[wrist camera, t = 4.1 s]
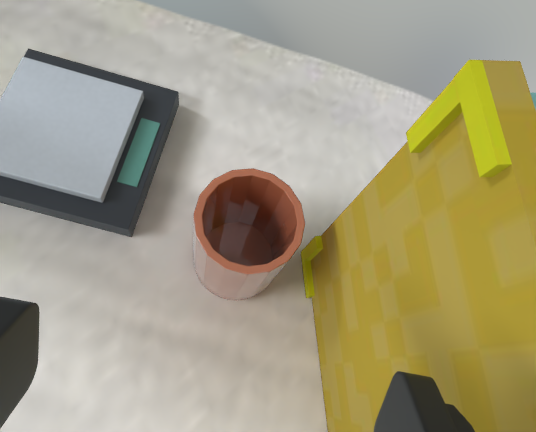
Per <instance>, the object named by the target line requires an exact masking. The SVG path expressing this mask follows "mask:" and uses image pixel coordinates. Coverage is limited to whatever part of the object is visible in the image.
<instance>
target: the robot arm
mask: <svg viewBox="0 0 536 432" xmlns="http://www.w3.org/2000/svg"><path fill="white" fill-rule="evenodd" d="M38 344H39V307H38V305H37V304H36V303H32V302H27V301H21V300H16V299H10V298H5V297H0V428H1V427H2V425H3V424H4V423H5V421H6V420H7V418H8V417H9V415H10V414H11V413H12V411H13V410H14V408H15V407H16V406H17V404H18V403H19V401H20V400H21V398H22V397H23V396H24V394H25V393H26V391H27V390H28V388H29V386H30V385H31V383H32V380H33V378H34V375H35V372H36V369H37V364H38ZM374 432H475V431H474V429H473V427H472V425H471V424H470V423H469V422H468V421H467V420H466V418H465V417H464V416H463V415H462V414H461V413H460V412H459V411H458V410H457V408H456V407H455V406H454V405H451V404H445V402H444V400H443V398H442V396H441V394H440V391H439V389H438V387H437V385H436V383H435V381H434V379H433V378H431V377H428V376H423V375H417V374H412V373H406V372H401V371H397V372H396V373H395V374H394V376H393V378H392V380H391V383H390V385H389V388H388V390H387V393H386V396H385V398H384V401H383V403H382V406H381V409H380V411H379V414H378V416H377V419H376V422H375V426H374Z"/></svg>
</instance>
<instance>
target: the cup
mask: <svg viewBox="0 0 536 432" xmlns="http://www.w3.org/2000/svg"><path fill="white" fill-rule="evenodd" d="M304 227H305V221H304V216H303V211H302V205H301V203H300V201H299V200H298V198H297V197H296V195H295V194H294V192H293V191H292V189H291V188H290V187H289V185H287V184H286V183H284V182H283V181H282V180H280V179H279V178H278V177H276V176H275V175H273V174H271V173H267V172H264V171H260V170H256V169H241V170H232V171H229V172H227V173H225V174H223V175H221V176H219V177H217V178H215V179H214V180H212V181H211V183H210V184H209V185H208V186H207V187H206V188H205V189H204V191H203V192H202V193H201V194H200V196H199V199H198V202H197V205H196V208H195V212H194V226H193V258H194V267H195V271H196V274H197V276H198V278H199V280H200V281H201V283H202V284H203V285H204V286H205V287H206V288H207V289H208V290H209V291H210V292H212V293H213V294H215V295H217V296H219V297H221V298H224V299H229V300H243V299H248V298H250V297H253V296H255V295H257V294H258V293H260V292H261V291H263V290H264V289H265V288H266V287H267V286H268V285H269V284H270V283H271V281H272V280H273V279H274V278H275V277H276V275H277V274H278V273H279V272H280V271H281V269H282V268H283V267H284V266H285V265H286V263H287V262H288V261H289V260H290V258H291V257H292V255H293V254H294V253H295V251H296V250H297V249H298V247H299V246H300V244H301V241H302V236H303V232H304Z"/></svg>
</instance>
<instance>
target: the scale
mask: <svg viewBox="0 0 536 432" xmlns="http://www.w3.org/2000/svg"><path fill="white" fill-rule="evenodd" d="M178 106H179V98H178V92H177V91H174V90H170V89H167V88H163V87H160V86H156V85H153V84H149V83H146V82H142V81H139V80H135V79H132V78H129V77H125V76H122V75H118V74H115V73H111V72H108V71H104V70H101V69H97V68H94V67H90V66H87V65H83V64H80V63H76V62H73V61H70V60H66V59H63V58H59V57H56V56H52V55H49V54H45V53H42V52H38V51H35V50H31V49H28V50H27V52H26V54H25V56H24V57H22V59H21V61H20V63H19V65H18V67H17V69H16V71H15V73H14V74H13V76H12V78H11V80H10V82H9V84H8V86H7V88H6V90H5V91H4V93H3V95H2V97H1V99H0V202H1V203H4V204H8V205H12V206H16V207H20V208H23V209H27V210H31V211H35V212H39V213H42V214H46V215H50V216H54V217H57V218H61V219H65V220H69V221H73V222H76V223H80V224H84V225H88V226H92V227H95V228H99V229H103V230H107V231H110V232H114V233H118V234H122V235H126V236H129V237H132V235H133V232H134V229H135V226H136V223H137V221H138V218H139V215H140V212H141V209H142V207H143V204H144V201H145V198H146V195H147V193H148V190H149V187H150V184H151V181H152V179H153V176H154V173H155V170H156V167H157V164H158V162H159V159H160V156H161V153H162V150H163V148H164V145H165V142H166V139H167V136H168V134H169V131H170V128H171V125H172V122H173V120H174V117H175V114H176V111H177V108H178Z"/></svg>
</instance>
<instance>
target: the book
mask: <svg viewBox="0 0 536 432" xmlns="http://www.w3.org/2000/svg"><path fill="white" fill-rule="evenodd" d="M406 135H407V140H408V142H407V143H406V144H405V145H404V146H403V147H402V148H401V149H400V150H399V151H398V152H397V154H396V155H395V156H394V157H393V158H392V159H391V160H390V161H389V162H388V163H387V164H386V166H385V167H384V168H383V169H382V170H381V171H380V172H379V173H378V174H377V175H376V176H375V178H374V179H373V180H372V181H371V182H370V183H369V184H368V185H367V186H366V187H365V188H364V190H363V191H362V192H361V193H360V194H359V195H358V196H357V197H356V198H355V199H354V200H353V202H352V203H351V204H350V205H349V206H348V207H347V208H346V209H345V210H344V211H343V212H342V214H341V215H340V216H339V217H338V218H337V219H336V220H335V221H334V222H333V223H332V224H331V226H330V227H329V228H328V229H327V230H326V231H325V232H324V233H323V234H322V235H321V236H315V237H314V238H313V239H312V240H311V242H310V243H309V244H308V245H307V246H306V247H305V248H304V249H303V250H302V251H301V258H302V267H303V275H304V284H305V292H306V298H311V297H312V303H313V311H314V320H315V328H316V336H317V344H318V353H319V361H320V369H321V378H322V386H323V394H324V403H325V411H326V419H327V427H328V432H374V426H375V422H376V419H377V416H378V414H379V411H380V409H381V406H382V403H383V401H384V398H385V396H386V393H387V390H388V388H389V385H390V383H391V380H392V378H393V376H394V374H395V373H396V372H397V371H401V372H406V373H412V374H417V375H423V376H428V377H431V378H433V379H434V381H435V383H436V385H437V387H438V389H439V391H440V394H441V396H442V398H443V400H444V402H445V404H451V405H454V406H455V407H456V408H457V410H458V411H459V412H460V413H461V414H462V415H463V416H464V417H465V418H466V420H467V421H468V422H469V423H470V424H471V425H472V427H473V429H474V431H475V432H536V93H530V91H529V88H528V84H527V81H526V79H525V75H524V72H523V69H522V66H521V62H520V61H489V60H469V61H468V62H467V63H466V64H465V65H464V66H463V67H462V69H461V70H460V71H459V72H458V73H457V74H456V75H455V76H454V79H453V80H452V81H451V82H450V83H449V84H448V86H447V87H446V88H445V89H444V90H443V92H442V93H441V94H440V95H439V96H438V97H437V98H436V99H435V100H434V102H433V103H432V104H431V105H430V106H429V107H428V108H427V110H426V111H425V112H424V113H423V114H422V115H421V116H420V117H419V119H418V120H417V121H416V122H415V123H414V124H413V125H412V127H411V128H410V129H409V130H408V131H407V132H406Z"/></svg>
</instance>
